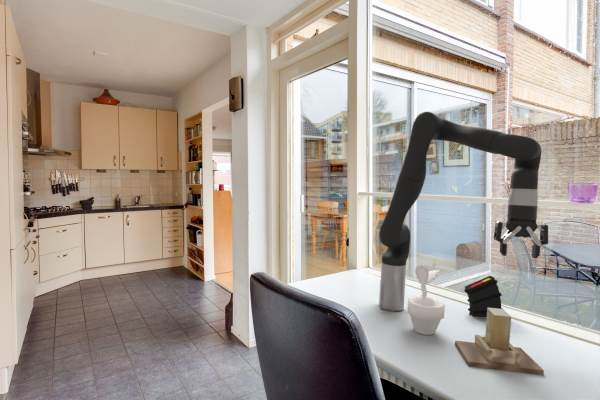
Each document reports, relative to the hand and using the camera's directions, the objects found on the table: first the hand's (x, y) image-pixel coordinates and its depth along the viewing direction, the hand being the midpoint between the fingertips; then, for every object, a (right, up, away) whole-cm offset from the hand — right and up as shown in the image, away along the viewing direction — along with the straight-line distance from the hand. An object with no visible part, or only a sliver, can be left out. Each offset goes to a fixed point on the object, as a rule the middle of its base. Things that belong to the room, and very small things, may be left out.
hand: (519, 256), depth 106 cm
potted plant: (-26, -26, +7) cm, 37 cm away
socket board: (-13, -27, -10) cm, 31 cm away
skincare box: (-13, -26, -11) cm, 31 cm away
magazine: (+1, -26, +23) cm, 35 cm away
